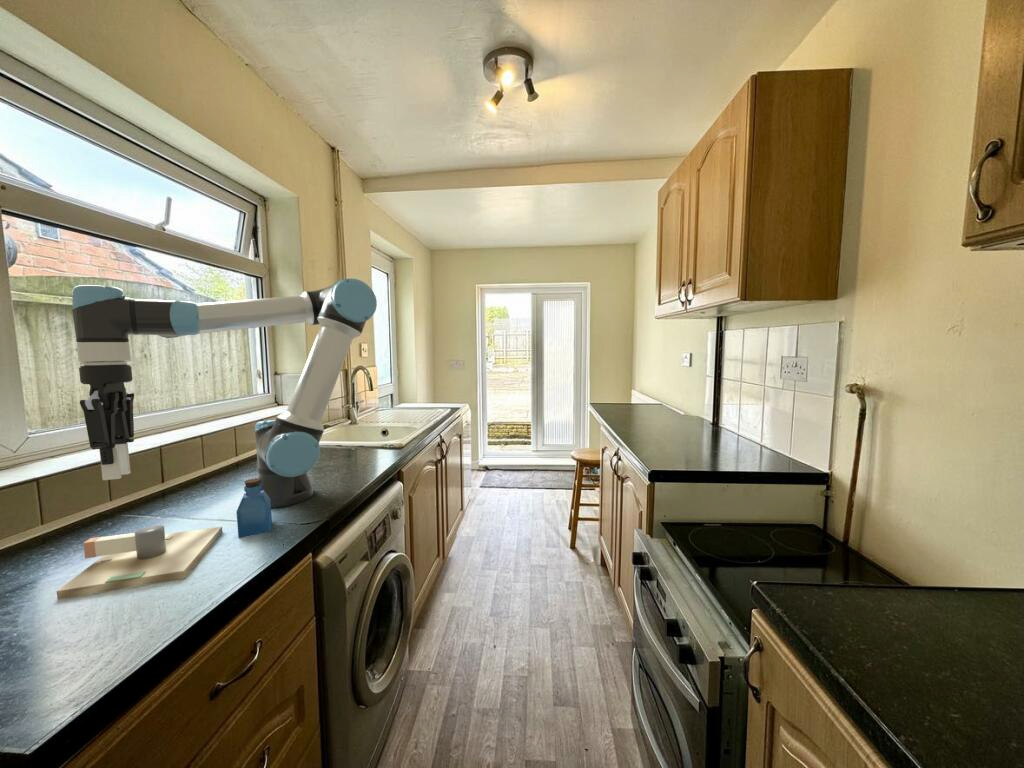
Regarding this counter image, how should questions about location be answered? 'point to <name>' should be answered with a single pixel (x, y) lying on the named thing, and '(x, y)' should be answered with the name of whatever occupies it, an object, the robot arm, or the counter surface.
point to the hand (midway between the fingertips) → (117, 476)
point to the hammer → (129, 543)
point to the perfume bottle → (254, 510)
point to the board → (143, 565)
